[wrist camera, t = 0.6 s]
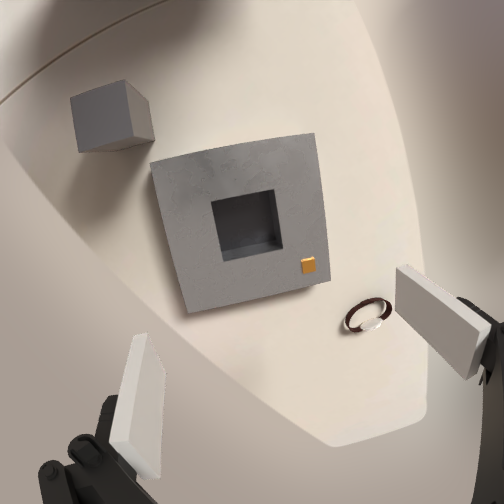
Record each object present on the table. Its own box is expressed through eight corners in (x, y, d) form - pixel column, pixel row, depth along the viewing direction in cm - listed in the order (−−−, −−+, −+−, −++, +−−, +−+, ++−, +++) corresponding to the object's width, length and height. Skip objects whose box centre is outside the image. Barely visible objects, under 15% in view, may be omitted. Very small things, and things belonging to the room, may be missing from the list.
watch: (345, 331, 47) (355, 344, 43) (340, 308, 45) (350, 320, 42) (386, 312, 47) (397, 322, 44) (383, 288, 45) (395, 298, 42)
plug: (108, 112, 31) (70, 97, 20) (147, 100, 32) (124, 79, 21) (115, 151, 33) (78, 152, 22) (155, 140, 34) (133, 135, 22)
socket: (155, 161, 34) (149, 163, 30) (302, 134, 36) (315, 132, 32) (188, 298, 40) (188, 314, 36) (319, 269, 42) (331, 281, 38)
